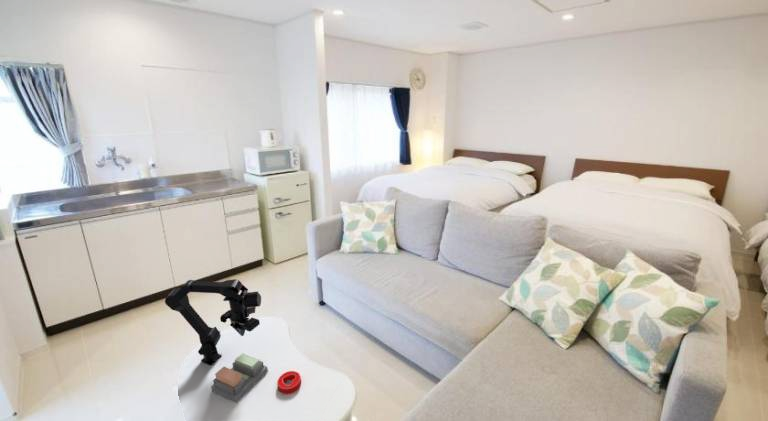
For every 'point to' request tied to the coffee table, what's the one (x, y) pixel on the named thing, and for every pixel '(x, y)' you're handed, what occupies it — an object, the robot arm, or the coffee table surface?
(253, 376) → the button panel
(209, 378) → the coffee table surface
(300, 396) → the coffee table surface
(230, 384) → the orange brown block
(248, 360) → the sage button
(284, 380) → the decorative ornament
